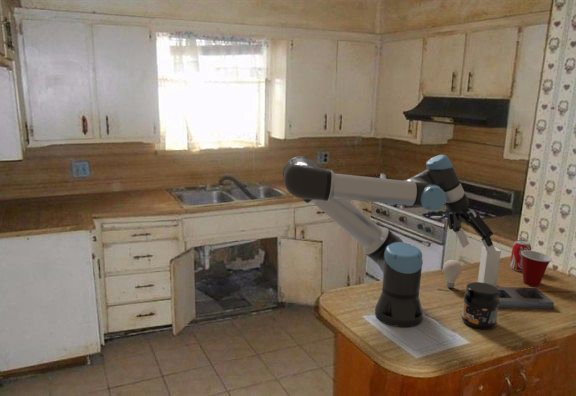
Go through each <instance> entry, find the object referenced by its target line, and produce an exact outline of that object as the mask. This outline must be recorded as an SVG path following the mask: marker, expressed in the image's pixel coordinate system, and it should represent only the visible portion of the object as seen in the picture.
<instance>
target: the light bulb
mask: <svg viewBox="0 0 576 396" xmlns="http://www.w3.org/2000/svg"><path fill="white" fill-rule="evenodd" d="M442 269H443V272H444V273H443V274H444V275H445V277H446V278H445V280H446V287H447V288H450V289H452V288H455V284H456V282H457V281H456V280H457V279H458V277H459V276H460V275H461V274H462V265H461V263H460V262H459V261H457V260H456V259H455V260H454V259H449V260H447V261H445V263H444V264H443V267H442Z"/></svg>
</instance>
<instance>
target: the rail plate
mask: <svg viewBox="0 0 576 396" xmlns="http://www.w3.org/2000/svg"><path fill="white" fill-rule="evenodd" d="M496 288H497V289H498V290H499V297H498V299H499V301H500V303H499V307H498V309H531V310H532V309H535V310H536V309H539V310H541V309H542V310H553V309H554V305H555V302H554V301H553V300H552V299H551V298H549V297H548V296H547V295H545V294H544V292H542V291H540V290H539V289H538V288H537V287H522V286H521V287H515V286H513V287H512V286H510V287H509V286H496ZM525 297H526V298H525Z"/></svg>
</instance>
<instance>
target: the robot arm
mask: <svg viewBox="0 0 576 396" xmlns="http://www.w3.org/2000/svg"><path fill="white" fill-rule="evenodd" d="M425 165H426V166H425V167H426V169H424V170H422V171H420V172H419V173H417V174H415V175H413V176H411V177H409V178H407V179H404V180H400V179H389V178H381V177H372V176H362V175H351V174H343V173H342V174H341V173H335V172H334V171H333V170H332V169H327V168H321V167H319V166H317V164H316V163H315V162H314V160H312V159H311V158H309V157H307V156H303V155H302V156H299V155H298V156H295V157H293V158H291V159H289V160H288V161H287V162H286V164H285V166H284V168H283V170H282V177H283V178H282V179H283V181H284V182H283V183H284V187H285V189H286V190H287V191H288V193H289V194H291V196H293V197H295V198H298V199H301V200H302V201H304V203H306V204H314V205H315V206H316V207H317V208H319V210H321V211H322V212H323V213H324V214H325V215H327V217H329V218H330V219H331V220H333V222H335V223H336V224H337V225H338V226H340V228H342V230H344V231H345V232H346V233H347V234H349V235H350V236H351V237H352V238H353V239H354V240H355V241H357V242H358V243H359V244H360V245H361V246H362V247H363V253H364V254H365V255H366V256H367V257H368V258H370V260H372V261H373V262H374V263H375V264H377V266H379V268H380V270H381V272H382V273H383V274H382V275H383V277H382V288H381V289H382V291H381V293H380V296H379V297H378V300H377V302H376V304H375V311H374V314H375V316H376V318H377V319H378V320H379V321H381V322H382V323H384V324H387V325H390V326H394V327H397V328H398V327H399V328H410V327H415V326H418V325H420V324H421V323H422V322H423V317H424V316H423V315H424V314H423V313H424V311H423V308H422V303H421V299H420V289H421V288H420V287H421V277H422V270H423V269H422V268H423V253H422V251H421V249H420V248H418V247H417V246H416V245H412V244H411V243H408V242H404V241H403V240H402V238H400V237H399V236H398V235H396V234H394V232H392V231H391V230H390V229H389V228H387V227H380V226H379V225H378V224H376V223H375V222H374V221H373V220H371V218H370V217H368V216H367V215H366V214H365V213H364V212H362V211H361V210H360V209H359V207H357V206H356V205H355V204H353V202H351V201H359V202H369V203H370V202H371V203H378V204H379V203H381V204H389V205H400V206H401V205H402V206H410V207H420V208H424V209H426V210H428V211H433V212H435V211H438V210H440V209H441V208H442V207H444V206H445V208H446V209H445V212H446V215H447V220H448V221H447V222H448V229H449V230H452V231H453V232H454V233H455V235H456V237H457V239H458V240H459V243H460V245H461V247H462V249H463V248H464V249H465V247H467V246H469V245H470V242H469V239H468V238H467V236H466V234H465V232H464V229H463V228H462V222H463V223H465V224H466V225H467V226H470V227H471V228H472V229H473V230H474V231H475V233H476V234H478V235H479V237H481V239H480V240H481V242H482V244H483V246H485V248H486V251H487V253H488V255H492V254H493V253H494V252H496V250H495V248H494V246H495V245H494V243H493V241H492V238H491V236H493V235H494V233H493V231H492V229H490V227H489V226H488V225H487V223H486V222H485V221H484V220H483V218H481V216H480V215H479V213H478V211H477V210H476V209H473V210H471V209H469V206H470V199H469V198H468V195H467V194H466V193H465V190H464V187H463V186H462V183H461V181H460V180H459V177H458V175H457V172H456V170H455V168H454V165H453V162H451V159H450V158H449V157H448V155H446V154H438V155H435V156H433V157H431V158H429V159H428V160H427V161H426V163H425ZM350 200H351V201H350Z"/></svg>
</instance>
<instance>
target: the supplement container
mask: <svg viewBox="0 0 576 396" xmlns="http://www.w3.org/2000/svg"><path fill="white" fill-rule="evenodd" d="M496 287H497V286H496ZM496 287H495V286H493V285H490V284H487V283H481V282H478V281H474V282H468V283H467V284H466V290H465V292H464V294H463V302H462V311H461V319H462V320H461V321H463V323H465V324H466V325H467V326H469V327H471V328H473V329H478V330H491V329H493V328H495V327H496V325H497V321H498V312H499V308H498V307H499V303H500V301H499V299H498V298H500V296H499V290H498V289H497V288H496Z"/></svg>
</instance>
